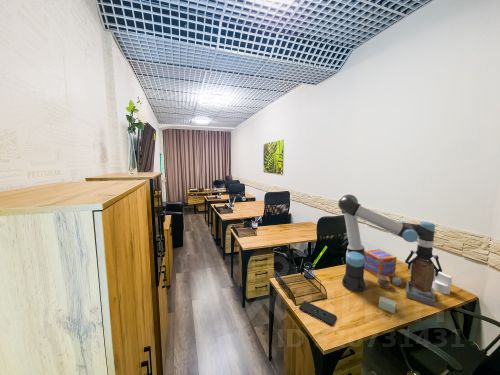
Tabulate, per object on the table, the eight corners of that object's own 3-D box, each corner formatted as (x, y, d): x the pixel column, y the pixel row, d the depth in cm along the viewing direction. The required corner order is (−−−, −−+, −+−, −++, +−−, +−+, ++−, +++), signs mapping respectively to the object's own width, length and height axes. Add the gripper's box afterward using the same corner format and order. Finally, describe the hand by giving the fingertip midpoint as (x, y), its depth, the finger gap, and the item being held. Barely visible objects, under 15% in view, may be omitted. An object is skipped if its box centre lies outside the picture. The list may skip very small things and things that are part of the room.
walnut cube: (379, 286, 143) (380, 279, 142) (377, 282, 148) (378, 274, 147) (389, 288, 140) (390, 281, 140) (387, 284, 146) (388, 276, 145)
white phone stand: (453, 292, 136) (455, 276, 135) (444, 295, 133) (446, 278, 132) (437, 285, 145) (439, 269, 143) (429, 287, 142) (431, 271, 140)
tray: (406, 296, 132) (406, 291, 131) (406, 284, 145) (406, 280, 145) (434, 306, 123) (435, 301, 123) (432, 292, 136) (432, 287, 136)
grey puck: (399, 287, 143) (400, 282, 142) (390, 283, 146) (391, 278, 145) (401, 284, 146) (402, 279, 145) (393, 280, 149) (394, 275, 148)
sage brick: (378, 307, 122) (379, 300, 122) (379, 303, 126) (380, 295, 125) (394, 313, 117) (395, 306, 116) (395, 309, 121) (396, 301, 120)
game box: (379, 278, 152) (381, 259, 151) (363, 268, 167) (364, 250, 166) (395, 275, 157) (397, 257, 155) (377, 266, 171) (379, 248, 170)
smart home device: (332, 324, 108) (298, 307, 120) (332, 327, 108) (298, 309, 121) (337, 315, 114) (304, 300, 127) (337, 318, 114) (304, 302, 127)
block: (432, 292, 130) (436, 263, 127) (424, 294, 127) (428, 265, 125) (415, 282, 140) (418, 255, 137) (407, 284, 138) (410, 257, 135)
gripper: (402, 242, 134) (399, 273, 137) (451, 252, 120) (447, 286, 122) (402, 239, 140) (399, 268, 143) (449, 248, 125) (445, 280, 128)
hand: (421, 277), depth 132 cm, fingers closed on block, 11 cm apart
